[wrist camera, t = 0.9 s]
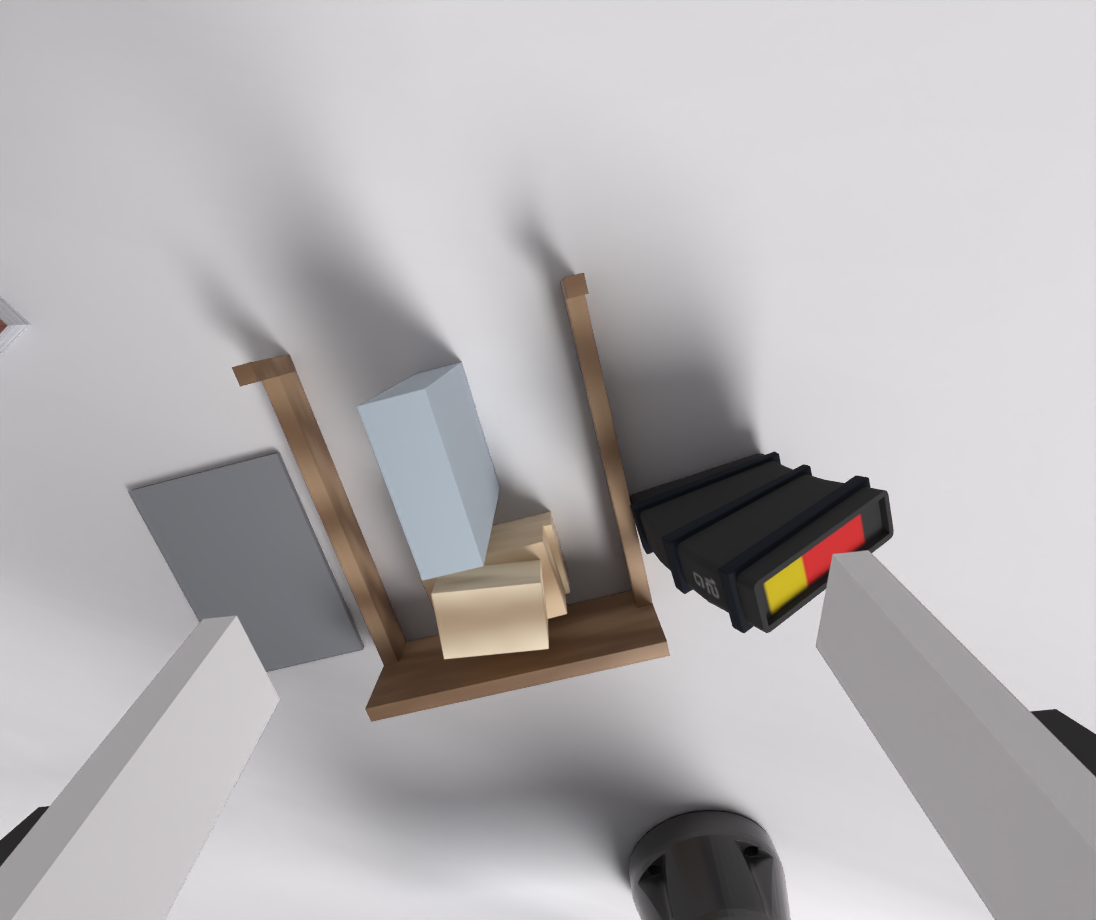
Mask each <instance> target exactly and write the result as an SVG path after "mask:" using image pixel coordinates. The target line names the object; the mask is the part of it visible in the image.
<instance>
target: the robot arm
mask: <svg viewBox="0 0 1096 920" xmlns="http://www.w3.org/2000/svg"><path fill="white" fill-rule="evenodd" d="M816 648H817V649H818V651H819V652H820V654H821V655H822V657H823V658H824V660H825V662H826V663H827V665H828V666H829V668H830V669H831V671H832V672H833V674H834V675H835V677H836V678H837V680H838V681H839V683H840V684H841V686H842V687H843V689H844V690H845V692H846V694H847V695H848V697H849V698H850V700H851V701H852V703H853V704H854V706H855V707H856V709H857V710H858V712H859V713H860V715H861V716H862V718H863V719H864V721H865V722H866V724H867V726H868V727H869V729H870V730H871V732H872V733H873V735H874V736H875V738H876V739H877V741H878V742H879V744H880V745H881V747H882V748H883V750H884V751H885V753H886V754H887V756H888V758H889V759H890V761H891V762H892V764H893V765H894V767H895V768H896V770H897V771H898V773H899V774H900V776H901V777H902V779H903V780H904V782H905V783H906V785H907V786H908V788H909V790H910V791H911V793H912V794H913V796H914V797H915V799H916V800H917V802H918V803H919V805H920V806H921V808H922V809H923V811H924V812H925V814H926V815H927V817H928V818H929V820H930V822H931V823H932V825H933V826H934V828H935V829H936V831H937V832H938V834H939V835H940V837H941V838H942V840H943V841H944V843H945V844H946V846H947V847H948V849H949V850H950V852H951V854H952V855H953V857H954V858H955V860H956V861H957V863H958V864H959V866H960V867H961V869H962V870H963V872H964V873H965V875H966V876H967V878H968V879H969V881H970V882H971V884H972V886H973V887H974V889H975V890H976V892H977V893H978V895H979V896H980V898H981V899H982V901H983V902H984V904H985V905H986V907H987V908H988V910H989V911H990V913H991V914H992V916H993V918H994V919H995V920H1096V734H1095V733H1093V732H1091V731H1090V730H1088V729H1087V728H1085V727H1083V726H1082V725H1080V724H1079V723H1077V722H1076V721H1074V720H1072V719H1071V718H1069V717H1068V716H1066V715H1064V714H1063V713H1061V712H1060V711H1058V710H1057V709H1053V710H1042V711H1032V712H1030V711H1029V710H1028V709H1027V708H1026V707H1025V706H1024V705H1023V704H1022V703H1021V702H1020V701H1019V700H1018V699H1017V698H1016V697H1015V696H1014V695H1013V694H1012V693H1011V692H1010V691H1009V690H1008V689H1007V688H1006V687H1005V686H1004V685H1003V684H1002V683H1001V682H1000V681H999V680H998V679H997V678H996V677H995V676H994V675H993V674H992V673H991V672H990V671H989V670H988V669H987V668H986V667H985V666H984V665H983V664H982V663H981V662H980V661H979V660H978V659H977V658H976V657H975V656H974V655H973V654H972V653H971V652H970V651H969V650H968V649H967V648H966V647H965V646H964V645H963V644H962V643H961V642H960V641H959V640H958V639H957V638H956V637H955V636H954V635H953V634H952V633H951V632H950V631H949V630H948V629H947V628H946V627H945V626H944V625H943V624H942V623H941V622H940V621H939V620H938V619H937V618H936V617H935V616H934V615H933V614H932V613H931V612H930V611H929V610H928V609H927V608H926V607H925V606H924V605H923V604H922V603H921V602H920V601H919V600H918V599H917V598H916V597H915V596H914V595H913V594H912V593H911V592H910V591H909V590H908V589H907V588H906V587H905V586H904V585H903V584H902V583H901V582H900V581H899V580H898V579H897V578H896V577H895V576H894V575H893V574H892V573H891V572H890V571H889V570H888V569H887V568H886V567H885V566H884V565H883V564H882V563H881V562H880V561H879V560H878V559H877V558H876V557H875V556H874V555H873V554H872V553H871V552H870V551H869V550H867V551H857V552H848V553H838V554H833V555H832V560H831V565H830V571H829V576H828V582H827V587H826V593H825V598H824V603H823V609H822V614H821V620H820V625H819V631H818V636H817V641H816ZM279 700H280V698H279V696H278V694H277V692H276V691H275V689H274V687H273V685H272V683H271V681H270V679H269V677H268V675H267V673H266V671H265V669H264V667H263V665H262V663H261V661H260V660H259V658H258V656H257V654H256V652H255V650H254V648H253V646H252V644H251V642H250V640H249V638H248V636H247V634H246V632H245V631H244V629H243V627H242V625H241V623H240V621H239V619H238V617H237V616H227V617H217V618H208V619H203V620H202V621H201V622H200V623H199V625H198V626H197V627H196V628H195V629H194V631H193V632H192V633H191V634H190V636H189V637H188V638H187V639H186V640H185V642H184V643H183V644H182V645H181V647H180V648H179V649H178V650H177V651H176V653H175V654H174V655H173V656H172V658H171V659H170V660H169V661H168V662H167V664H166V665H165V666H164V667H163V669H162V670H161V671H160V672H159V673H158V675H157V676H156V677H155V678H154V680H153V681H152V682H151V683H150V684H149V686H148V687H147V688H146V689H145V691H144V692H143V693H142V694H141V695H140V697H139V698H138V699H137V700H136V702H135V703H134V704H133V705H132V706H131V708H130V709H129V710H128V711H127V713H126V714H125V715H124V716H123V717H122V719H121V720H120V721H119V722H118V724H117V725H116V726H115V727H114V728H113V730H112V731H111V732H110V733H109V735H108V736H107V737H106V738H105V739H104V741H103V742H102V743H101V744H100V746H99V747H98V748H97V749H96V750H95V752H94V753H93V754H92V755H91V757H90V758H89V759H88V760H87V761H86V763H85V764H84V765H83V766H82V768H81V769H80V770H79V771H78V772H77V774H76V775H75V776H74V777H73V779H72V780H71V781H70V782H69V783H68V785H67V786H66V787H65V788H64V790H63V791H62V792H61V793H60V794H59V796H58V797H57V798H56V799H55V801H54V802H53V803H52V804H51V805H50V806H47V807H38V808H37V809H36V810H35V811H34V812H33V813H32V814H30V815H29V816H28V817H27V818H26V819H25V820H23V821H22V822H21V823H20V824H19V825H18V826H16V827H15V828H14V829H13V830H12V831H11V832H10V833H8V834H7V835H6V836H5V837H4V838H3V839H1V840H0V920H165V918H166V916H167V915H168V913H169V911H170V909H171V907H172V905H173V903H174V901H175V899H176V897H177V895H178V894H179V892H180V890H181V888H182V886H183V884H184V882H185V880H186V878H187V876H188V874H189V873H190V871H191V869H192V867H193V865H194V863H195V861H196V859H197V857H198V855H199V853H200V851H201V850H202V848H203V846H204V844H205V842H206V840H207V838H208V836H209V834H210V832H211V830H212V829H213V827H214V825H215V823H216V821H217V819H218V817H219V815H220V813H221V811H222V809H223V807H224V806H225V804H226V802H227V800H228V798H229V796H230V794H231V792H232V790H233V788H234V786H235V785H236V783H237V781H238V779H239V777H240V775H241V773H242V771H243V769H244V767H245V765H246V763H247V762H248V760H249V758H250V756H251V754H252V752H253V750H254V748H255V746H256V744H257V742H258V741H259V739H260V737H261V735H262V733H263V731H264V729H265V727H266V725H267V723H268V721H269V719H270V718H271V716H272V714H273V712H274V710H275V708H276V706H277V704H278V702H279ZM629 877H630V883H631V889H632V896H633V900H634V903H635V906H636V909H637V911H638V913H639V915H640V917H641V920H791V919H790V911H789V904H788V897H787V889H786V882H785V875H784V870H783V867H782V864H781V861H780V859H779V857H778V854H777V852H776V850H775V847H774V845H773V843H772V841H771V839H770V837H769V836H768V834H767V833H766V832H765V831H764V830H763V829H762V828H761V827H760V826H759V825H757V824H756V823H754V822H753V821H751V820H749V819H747V818H745V817H742V816H740V815H736V814H732V813H727V812H720V811H701V812H694V813H689V814H684V815H681V816H678V817H675V818H672V819H670V820H667V821H665V822H663V823H662V824H660V825H658V826H657V827H655V828H654V829H652V830H651V831H650V832H648V833H647V834H646V835H645V836H644V837H643V838H642V839H641V840H640V842H639V843H638V844H637V846H636V847H635V849H634V851H633V853H632V855H631V858H630V862H629Z"/></svg>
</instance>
